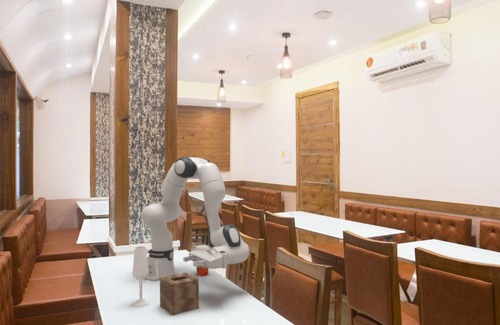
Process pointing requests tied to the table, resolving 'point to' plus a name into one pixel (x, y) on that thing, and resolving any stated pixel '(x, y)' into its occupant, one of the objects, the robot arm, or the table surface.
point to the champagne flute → (140, 271)
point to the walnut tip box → (179, 293)
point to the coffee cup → (202, 269)
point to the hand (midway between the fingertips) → (188, 261)
